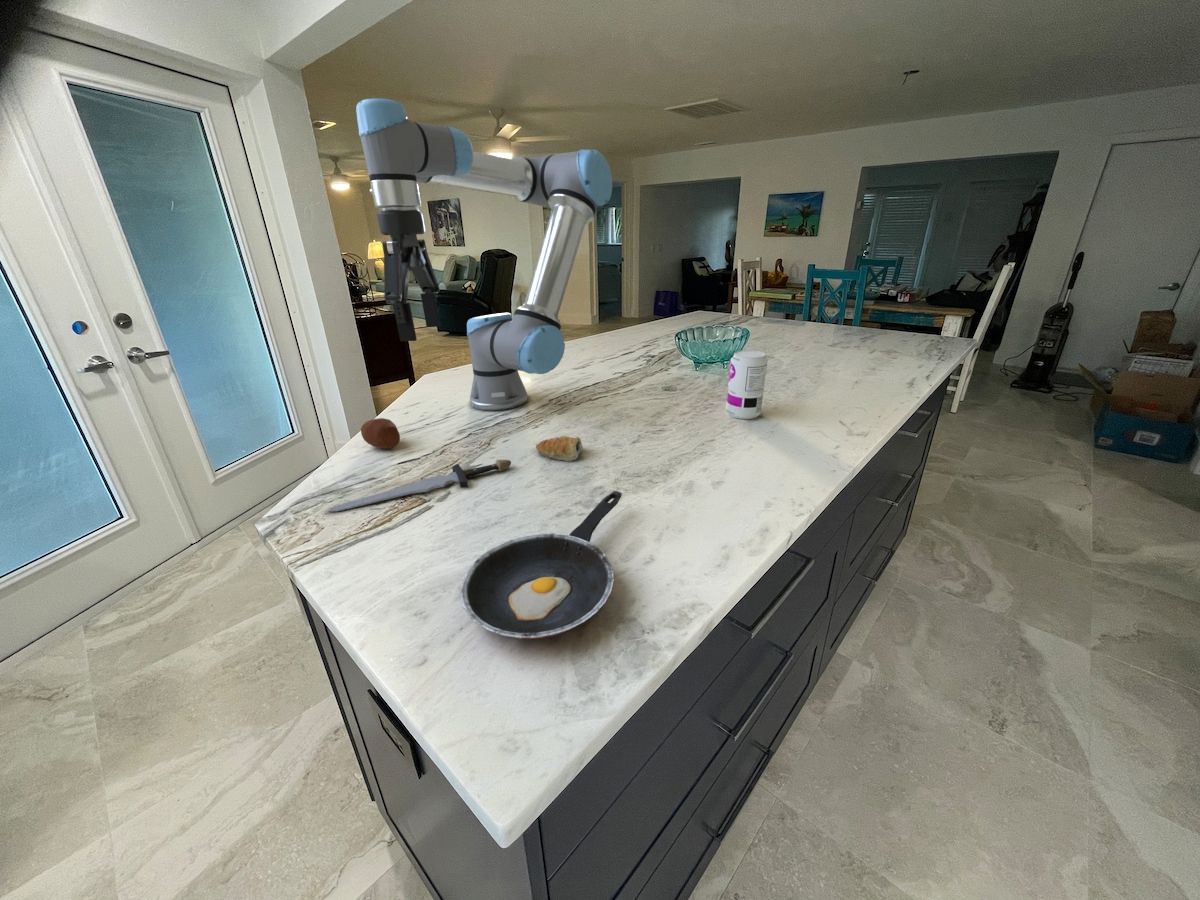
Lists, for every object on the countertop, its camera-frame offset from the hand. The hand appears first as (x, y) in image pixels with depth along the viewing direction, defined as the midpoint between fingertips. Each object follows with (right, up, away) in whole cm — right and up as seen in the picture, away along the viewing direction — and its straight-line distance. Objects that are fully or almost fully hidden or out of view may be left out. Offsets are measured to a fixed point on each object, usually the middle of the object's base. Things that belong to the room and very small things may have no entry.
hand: (422, 333), depth 90 cm
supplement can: (+70, -14, +25) cm, 75 cm away
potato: (-13, -22, +13) cm, 29 cm away
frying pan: (+30, -39, -26) cm, 55 cm away
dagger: (+3, -30, -5) cm, 30 cm away
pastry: (+27, -24, +7) cm, 36 cm away
